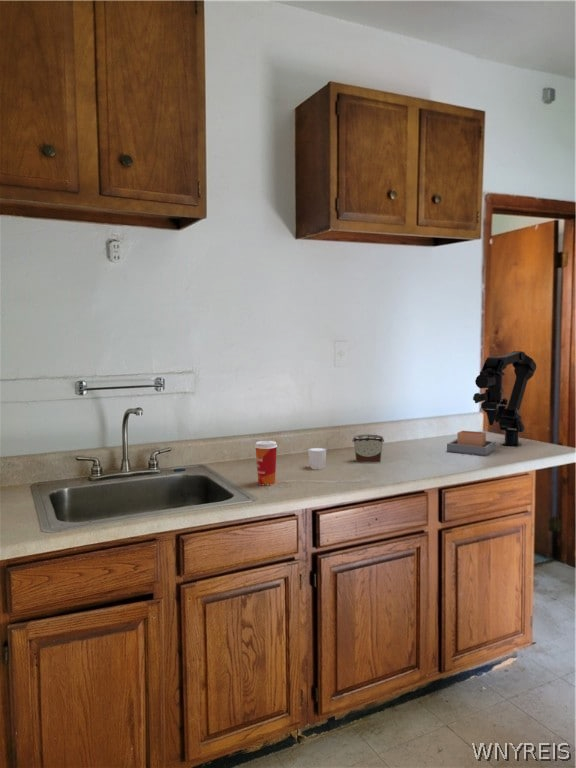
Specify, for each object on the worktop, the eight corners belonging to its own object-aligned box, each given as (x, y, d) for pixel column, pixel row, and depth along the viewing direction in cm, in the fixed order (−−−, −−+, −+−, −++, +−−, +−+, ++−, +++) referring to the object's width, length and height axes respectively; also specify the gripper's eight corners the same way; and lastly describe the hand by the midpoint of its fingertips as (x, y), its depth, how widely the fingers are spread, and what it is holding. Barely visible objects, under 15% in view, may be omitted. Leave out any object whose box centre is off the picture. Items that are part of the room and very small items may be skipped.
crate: (457, 446, 251) (457, 438, 250) (495, 450, 242) (495, 441, 241) (446, 452, 239) (447, 443, 239) (486, 456, 230) (486, 447, 230)
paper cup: (255, 480, 197) (254, 440, 196) (277, 480, 198) (276, 440, 197) (255, 487, 189) (254, 445, 188) (278, 486, 190) (278, 444, 189)
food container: (383, 459, 228) (383, 434, 227) (384, 462, 222) (384, 437, 221) (352, 458, 229) (351, 434, 228) (352, 462, 223) (352, 436, 222)
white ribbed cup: (328, 466, 217) (328, 448, 217) (323, 470, 211) (323, 451, 210) (311, 465, 219) (311, 447, 219) (306, 469, 213) (305, 450, 212)
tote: (461, 446, 246) (462, 430, 245) (485, 449, 240) (485, 432, 239) (457, 449, 241) (457, 432, 240) (481, 451, 235) (481, 434, 234)
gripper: (481, 384, 253) (480, 419, 254) (468, 387, 237) (468, 425, 239) (507, 385, 247) (507, 421, 248) (496, 389, 231) (495, 427, 233)
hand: (494, 423), depth 242 cm, fingers open, 9 cm apart
